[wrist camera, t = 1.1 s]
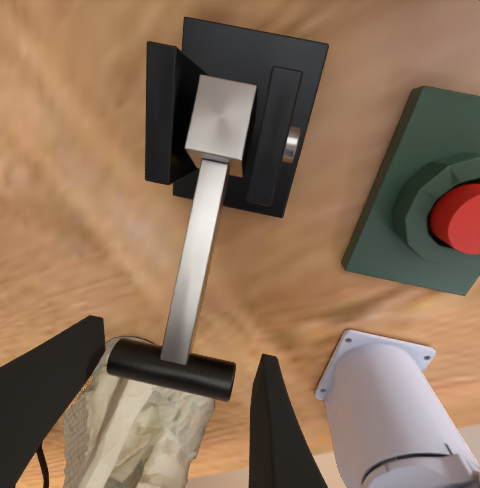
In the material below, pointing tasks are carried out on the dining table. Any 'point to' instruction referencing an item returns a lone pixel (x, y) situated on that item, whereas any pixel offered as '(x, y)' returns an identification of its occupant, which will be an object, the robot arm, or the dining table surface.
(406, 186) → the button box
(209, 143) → the lever
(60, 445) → the dining table surface
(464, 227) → the button
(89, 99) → the dining table surface
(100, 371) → the grey rock formation
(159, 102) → the bracket
